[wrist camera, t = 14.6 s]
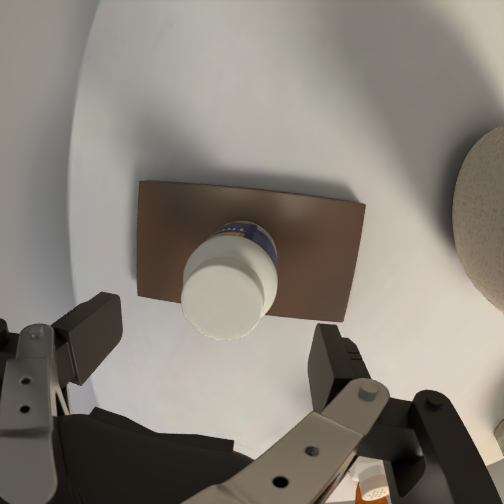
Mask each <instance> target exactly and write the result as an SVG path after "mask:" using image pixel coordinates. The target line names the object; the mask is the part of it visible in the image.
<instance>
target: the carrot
mask: <svg viewBox="0 0 504 504" xmlns="http://www.w3.org/2000/svg"><path fill="white" fill-rule="evenodd" d="M359 484H360V483H359V482H358V485H357V489H356V499H355V504H388V501H387V499H386V497H385V496H384V497H382V498H379V499H376V500H371V501H365V500H362V495H361V490H360V487H359Z"/></svg>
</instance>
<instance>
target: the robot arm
mask: <svg viewBox="0 0 504 504" xmlns="http://www.w3.org/2000/svg"><path fill="white" fill-rule="evenodd" d="M122 332H123V327H122V315H121V301H120V297H119V296H118V295H116V294H111V293H106V292H100V293H99V294H97V295H96V296H95V297H93V298H92V299H91V300H89V301H87V302H84V303H81V304H79V305H78V306H76V307H75V308H74V309H73V310H71V311H69V312H68V313H67V314H65V315H64V316H63V317H61V318H60V319H58V320H57V321H56V322H54V323H53V324H52V325H50V326H49V325H46V324H33V325H29V326H27V327H25V328H24V329H23V330H22V331H21V332H20V334H17V333H10V332H9V331H8V327H7V323H6V321H5V320H3V319H1V318H0V504H324V503H325V502H326V500H327V499H328V498H329V496H330V495H331V494H332V492H333V491H334V490H335V489H336V487H337V486H338V485H339V483H340V482H341V481H342V480H343V478H344V477H345V476H346V474H347V473H348V472H349V470H350V469H351V468H352V466H353V465H354V463H355V462H356V461H357V459H358V458H359V456H362V457H367V458H372V459H378V460H382V461H383V465H384V470H385V474H386V479H387V483H388V488H389V493H390V498H391V503H392V504H503V503H502V501H501V498H500V496H499V494H498V492H497V489H496V487H495V485H494V483H493V481H492V478H491V476H490V474H489V472H488V470H487V468H486V466H485V464H484V462H483V460H482V458H481V456H480V454H479V452H478V450H477V448H476V446H475V444H474V442H473V440H472V438H471V437H470V435H469V433H468V431H467V429H466V427H465V426H464V424H463V422H462V420H461V418H460V417H459V415H458V413H457V411H456V410H455V408H454V406H453V405H452V403H451V401H450V400H449V399H448V398H447V397H446V396H445V395H443V394H442V393H440V392H437V391H433V390H423V391H420V392H418V393H417V394H416V395H415V397H414V399H413V401H412V402H411V401H405V400H400V399H395V398H391V397H390V394H389V391H388V389H387V388H386V387H385V386H384V385H383V384H381V383H380V382H378V381H375V380H373V379H371V377H370V375H369V372H368V370H367V368H366V366H365V363H364V361H362V357H361V355H360V352H359V350H358V348H357V346H356V344H354V343H353V342H352V341H351V340H350V339H349V338H342V337H341V335H340V332H339V330H338V327H337V325H331V324H319V323H318V324H317V325H316V328H315V332H314V337H313V341H312V346H311V350H310V355H309V359H308V377H309V384H310V390H311V397H312V404H313V411H312V412H310V413H309V414H308V415H307V416H306V417H305V418H304V419H302V420H301V421H300V422H299V423H298V424H297V425H296V426H295V427H294V428H293V429H291V430H290V431H289V432H288V433H287V434H286V435H285V436H283V437H282V438H281V439H280V440H279V441H278V442H276V443H275V444H274V445H273V446H272V447H270V448H269V449H268V450H267V451H266V452H264V453H263V454H262V455H261V456H259V457H258V458H257V459H256V460H254V459H252V458H250V457H248V456H246V455H244V454H241V453H239V452H236V451H233V447H234V440H228V439H221V438H215V437H209V436H203V435H198V434H167V433H157V432H154V431H152V430H150V429H148V428H146V427H144V426H142V425H140V424H138V423H136V422H134V421H132V420H130V419H129V418H127V417H125V416H122V415H118V414H115V413H112V412H109V411H106V410H103V409H100V408H98V407H95V408H94V409H93V410H92V412H91V413H90V414H89V415H85V414H72V409H71V403H70V395H69V389H68V386H67V384H68V383H69V382H72V383H75V384H77V385H80V386H82V384H83V383H84V382H85V381H86V380H87V379H88V378H89V376H90V375H91V374H92V373H93V372H94V371H95V369H96V368H97V367H98V366H99V365H100V364H101V362H102V361H103V360H104V359H105V358H106V357H107V356H108V354H109V353H110V352H111V351H112V350H113V349H114V348H115V346H116V345H117V344H118V343H119V342H120V340H121V337H122Z"/></svg>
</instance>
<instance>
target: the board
mask: <svg viewBox="0 0 504 504" xmlns="http://www.w3.org/2000/svg"><path fill="white" fill-rule="evenodd" d="M365 207H366V205H365V204H362V203H358V202H352V201H345V200H339V199H332V198H325V197H318V196H311V195H304V194H296V193H288V192H280V191H271V190H262V189H253V188H243V187H233V186H222V185H210V184H197V183H183V182H168V181H149V180H145V181H139V196H138V218H137V293H138V296H141V297H147V298H152V299H158V300H164V301H170V302H176V303H181V292H182V289H183V274H184V269H185V266H186V263H187V261H188V259H189V258H190V256H191V254H192V253H193V252H194V251H195V250H196V249H197V248H198V246H199V245H201V244H202V243H203V242H204V241H205V240H206V239H207V238H209V237H210V236H211V235H212V234H213V233H214V232H216V231H217V230H218V229H219V228H221V227H222V226H224V225H226V224H228V223H230V222H234V221H248V222H253V223H255V224H257V225H259V226H260V227H262V228H263V229H265V230H266V231H267V232H268V233H269V235H270V236H271V238H272V239H273V241H274V244H275V247H276V252H277V276H278V285H277V292H276V296H275V299H274V302H273V304H272V306H271V307H270V309H269V310H268V311H267V313H266V314H265V315H270V316H279V317H289V318H298V319H309V320H320V321H332V322H343V321H344V317H345V313H346V308H347V304H348V300H349V295H350V291H351V286H352V281H353V276H354V271H355V266H356V261H357V256H358V250H359V245H360V239H361V233H362V227H363V220H364V214H365Z"/></svg>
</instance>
